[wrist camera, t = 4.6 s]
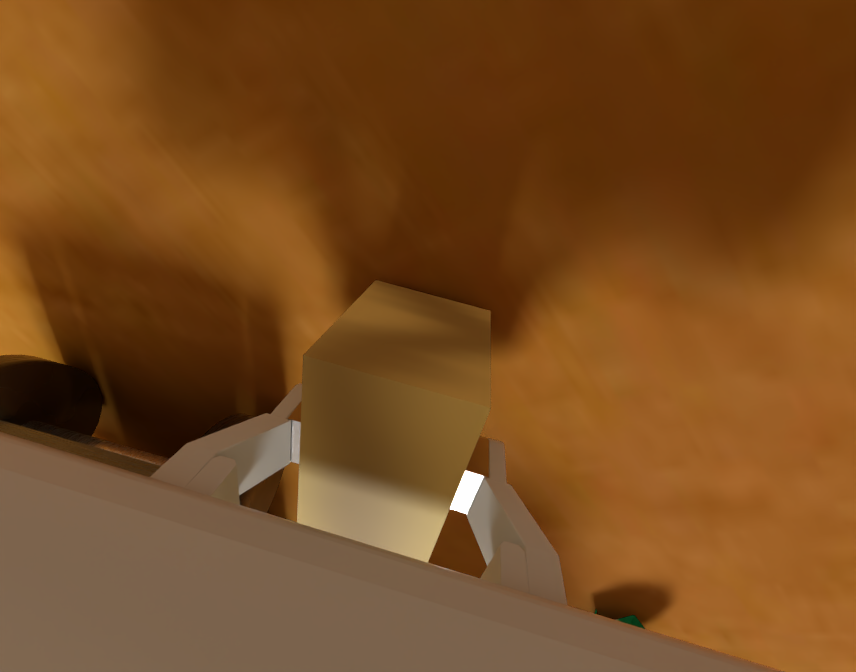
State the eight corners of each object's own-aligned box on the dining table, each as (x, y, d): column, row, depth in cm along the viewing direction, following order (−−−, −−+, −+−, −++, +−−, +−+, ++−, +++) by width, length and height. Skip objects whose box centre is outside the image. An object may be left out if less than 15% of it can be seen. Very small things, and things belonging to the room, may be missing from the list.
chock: (490, 310, 11) (490, 408, 7) (436, 468, 15) (414, 594, 11) (375, 279, 11) (303, 354, 7) (351, 443, 15) (295, 557, 11)
